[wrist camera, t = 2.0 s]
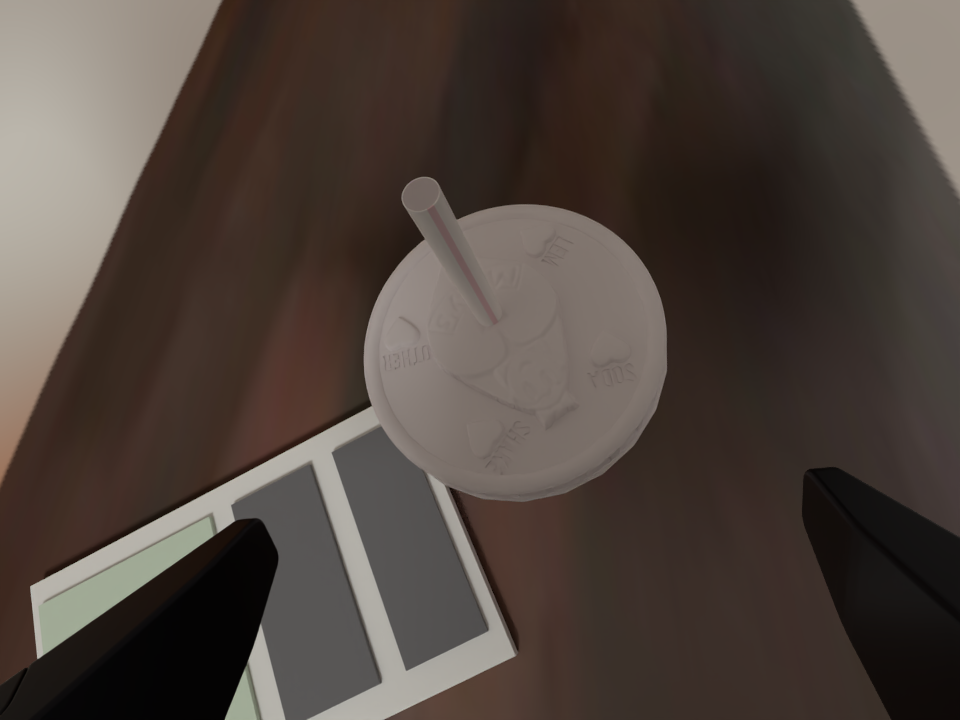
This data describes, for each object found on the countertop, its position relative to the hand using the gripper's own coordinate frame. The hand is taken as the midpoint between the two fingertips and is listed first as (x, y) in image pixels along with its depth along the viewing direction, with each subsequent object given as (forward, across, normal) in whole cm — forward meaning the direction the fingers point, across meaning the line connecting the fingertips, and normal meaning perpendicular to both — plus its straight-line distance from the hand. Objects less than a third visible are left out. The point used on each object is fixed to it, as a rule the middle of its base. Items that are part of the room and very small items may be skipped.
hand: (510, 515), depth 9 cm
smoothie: (+10, 0, +5) cm, 11 cm away
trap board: (+6, +12, +9) cm, 16 cm away
